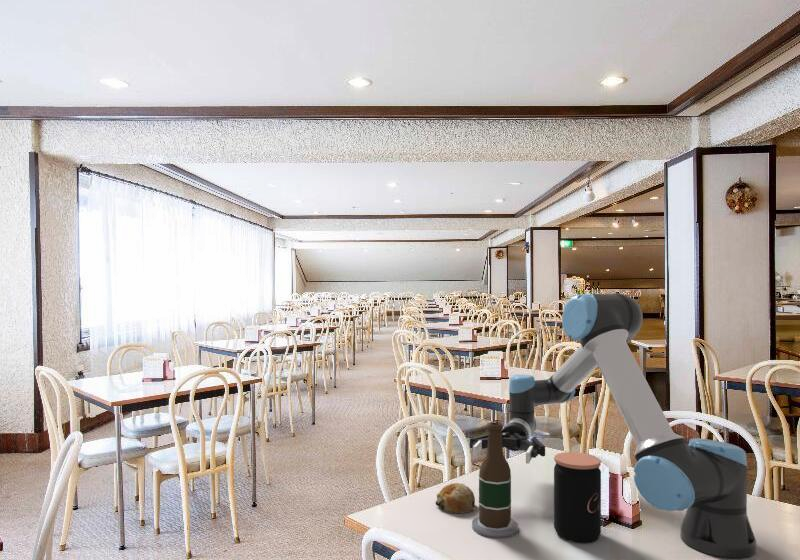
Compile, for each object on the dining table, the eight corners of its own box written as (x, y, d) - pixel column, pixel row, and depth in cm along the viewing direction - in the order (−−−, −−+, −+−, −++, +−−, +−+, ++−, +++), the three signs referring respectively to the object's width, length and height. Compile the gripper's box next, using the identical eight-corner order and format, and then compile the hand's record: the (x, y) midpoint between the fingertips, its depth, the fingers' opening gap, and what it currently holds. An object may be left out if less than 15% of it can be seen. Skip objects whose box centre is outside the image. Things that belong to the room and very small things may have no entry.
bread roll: (466, 529, 148) (479, 502, 147) (430, 509, 149) (443, 482, 149) (469, 514, 157) (481, 488, 157) (435, 495, 159) (447, 470, 158)
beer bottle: (514, 529, 136) (514, 427, 136) (481, 529, 136) (481, 427, 136) (507, 515, 144) (508, 419, 144) (476, 515, 144) (476, 419, 144)
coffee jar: (594, 548, 129) (594, 468, 129) (548, 537, 135) (548, 460, 135) (605, 531, 138) (605, 456, 138) (561, 521, 144) (561, 449, 144)
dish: (514, 519, 145) (514, 513, 145) (521, 538, 134) (521, 532, 134) (470, 518, 145) (470, 513, 145) (474, 537, 134) (474, 531, 134)
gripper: (560, 452, 161) (550, 476, 142) (473, 443, 171) (453, 463, 151) (560, 425, 161) (550, 445, 142) (473, 417, 171) (453, 435, 151)
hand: (500, 455), depth 146 cm, fingers open, 13 cm apart
